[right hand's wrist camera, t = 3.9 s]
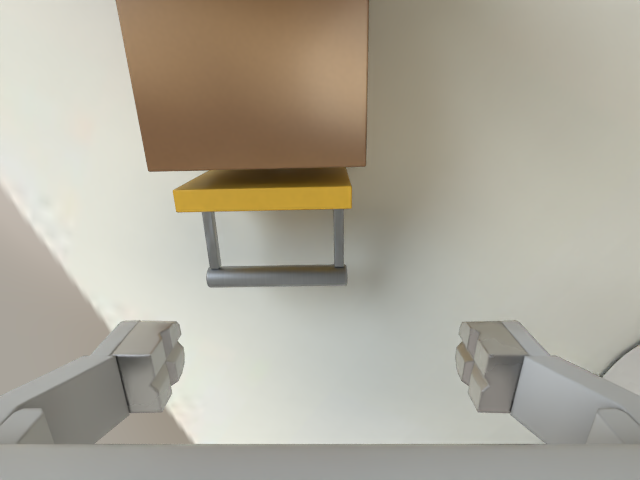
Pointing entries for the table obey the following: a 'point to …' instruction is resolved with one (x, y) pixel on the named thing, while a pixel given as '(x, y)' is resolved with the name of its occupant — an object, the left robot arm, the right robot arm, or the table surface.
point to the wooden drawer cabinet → (248, 82)
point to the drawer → (269, 194)
